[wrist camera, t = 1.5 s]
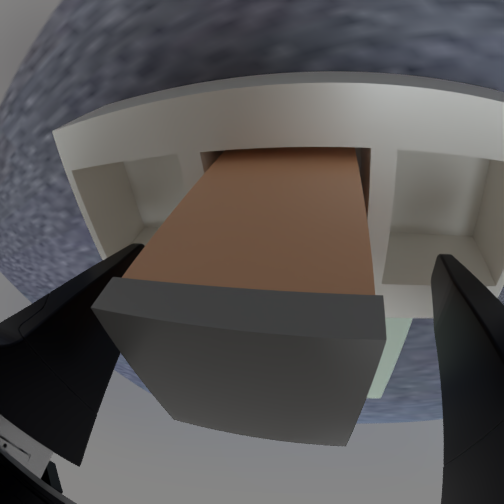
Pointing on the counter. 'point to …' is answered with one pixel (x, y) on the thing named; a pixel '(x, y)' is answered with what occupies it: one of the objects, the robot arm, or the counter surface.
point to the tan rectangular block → (257, 299)
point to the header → (312, 135)
